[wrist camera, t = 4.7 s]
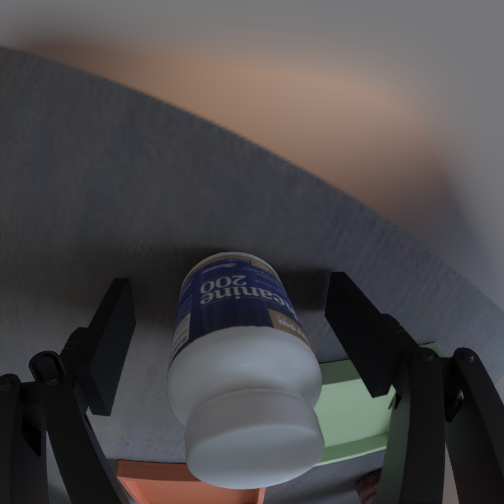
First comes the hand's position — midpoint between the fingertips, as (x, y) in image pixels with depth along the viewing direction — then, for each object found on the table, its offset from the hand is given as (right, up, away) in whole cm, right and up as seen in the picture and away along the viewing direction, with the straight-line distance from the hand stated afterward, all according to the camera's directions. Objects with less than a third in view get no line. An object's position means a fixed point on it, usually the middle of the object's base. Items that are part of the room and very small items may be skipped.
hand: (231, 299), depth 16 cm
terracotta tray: (-5, -21, +8) cm, 23 cm away
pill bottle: (0, 0, 0) cm, 1 cm away
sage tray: (+9, -10, +6) cm, 14 cm away
